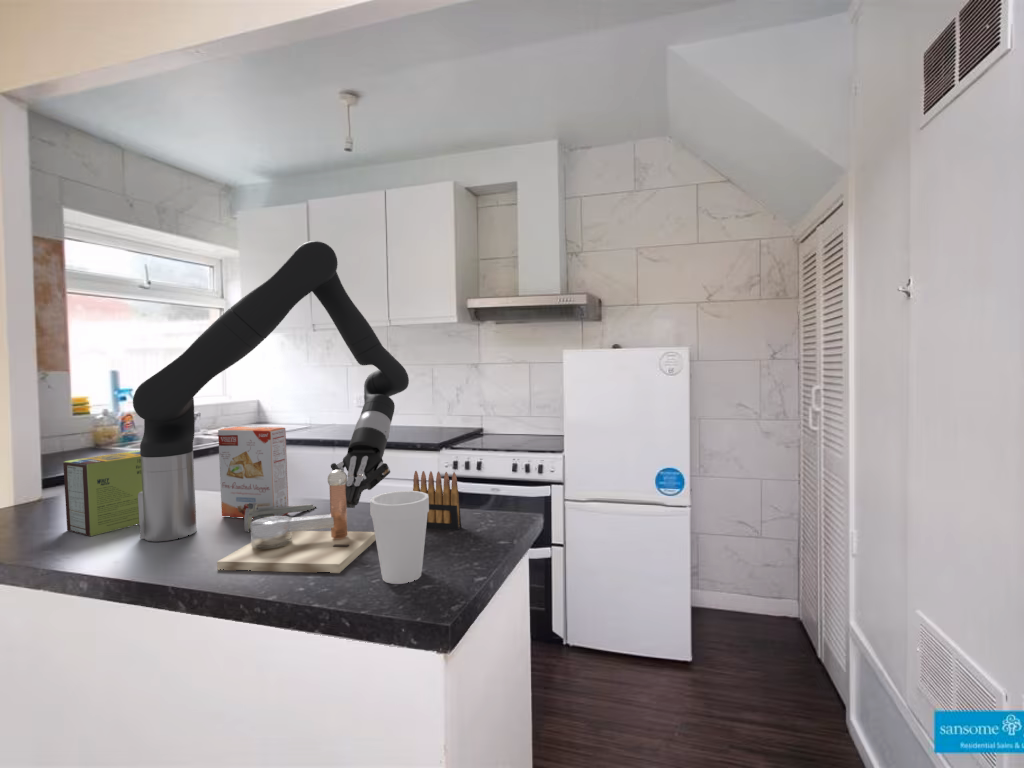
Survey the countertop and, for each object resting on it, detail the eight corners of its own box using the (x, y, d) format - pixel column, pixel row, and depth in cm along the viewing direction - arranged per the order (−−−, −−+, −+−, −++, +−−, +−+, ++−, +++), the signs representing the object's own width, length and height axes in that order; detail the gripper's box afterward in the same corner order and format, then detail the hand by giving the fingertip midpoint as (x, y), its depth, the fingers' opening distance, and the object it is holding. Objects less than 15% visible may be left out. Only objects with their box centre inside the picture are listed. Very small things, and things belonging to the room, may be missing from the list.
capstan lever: (247, 550, 95) (244, 479, 94) (255, 538, 101) (252, 472, 101) (348, 540, 99) (346, 472, 99) (349, 529, 106) (347, 465, 106)
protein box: (166, 517, 125) (163, 452, 124) (89, 537, 111) (85, 464, 110) (141, 512, 130) (138, 449, 129) (65, 531, 116) (61, 460, 115)
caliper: (248, 534, 112) (247, 504, 111) (244, 533, 112) (243, 504, 112) (316, 508, 130) (316, 483, 130) (313, 508, 131) (312, 483, 131)
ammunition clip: (411, 526, 113) (409, 471, 113) (415, 524, 115) (413, 469, 115) (458, 530, 111) (456, 473, 110) (461, 527, 112) (459, 471, 112)
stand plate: (217, 570, 91) (217, 560, 91) (272, 537, 108) (272, 529, 108) (339, 573, 89) (339, 563, 89) (376, 539, 106) (376, 530, 106)
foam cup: (432, 584, 83) (429, 502, 83) (371, 591, 81) (368, 507, 81) (428, 562, 93) (426, 489, 92) (374, 568, 91) (371, 492, 90)
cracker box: (220, 518, 123) (216, 429, 122) (238, 511, 128) (235, 425, 128) (273, 521, 119) (269, 429, 119) (289, 514, 125) (286, 426, 125)
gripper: (336, 426, 115) (310, 495, 103) (395, 425, 114) (375, 496, 102) (347, 446, 121) (324, 514, 109) (403, 446, 119) (386, 515, 107)
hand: (349, 505), depth 105 cm, fingers closed
